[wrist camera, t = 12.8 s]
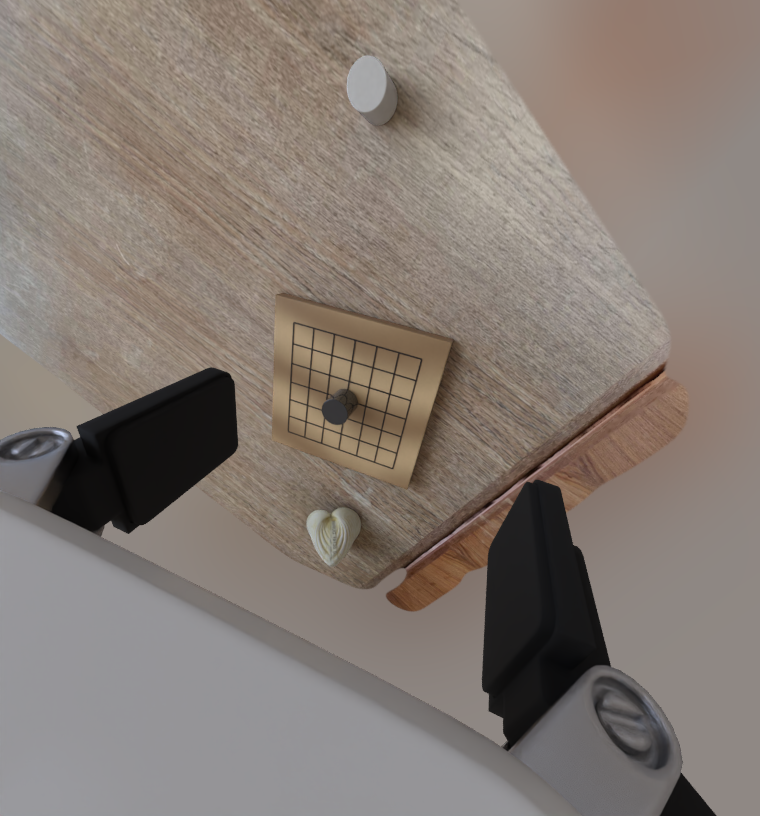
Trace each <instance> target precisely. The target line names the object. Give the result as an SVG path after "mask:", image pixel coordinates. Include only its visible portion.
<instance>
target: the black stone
mask: <svg viewBox="0 0 760 816" xmlns="http://www.w3.org/2000/svg"><path fill="white" fill-rule="evenodd" d="M357 407H358V400H357V397H356V395H355V394H354V393H353V392H352V391H350V390H348V389H339V390H337V391H336V392H335V393H334V394H333V395H332V396H331V397H330V398H328V399H327V400H326V401H325V402H324V403H323V405H322V414H323V416H324V418H325V419H326V420H327V421H328V422H329V423H331V424H334V425H341V424H343V423H345V422H346V421H347V419H348V418H349V417H350V416H351V415H352V414H353V412H354V411H355V410H356V409H357Z"/></svg>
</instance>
